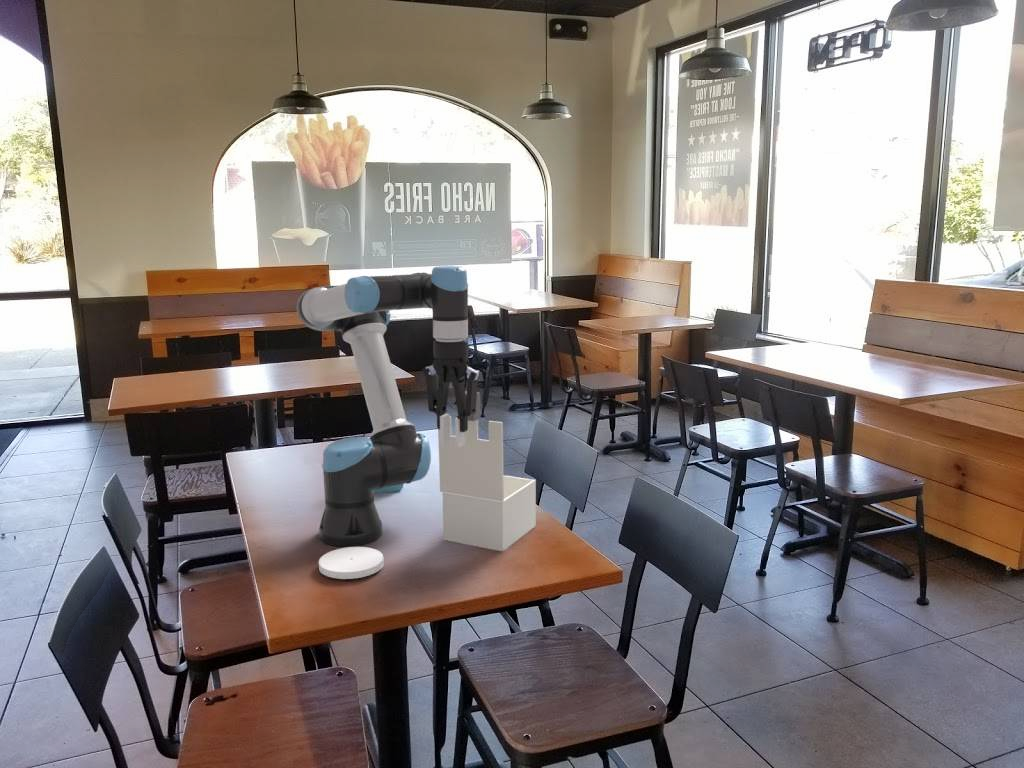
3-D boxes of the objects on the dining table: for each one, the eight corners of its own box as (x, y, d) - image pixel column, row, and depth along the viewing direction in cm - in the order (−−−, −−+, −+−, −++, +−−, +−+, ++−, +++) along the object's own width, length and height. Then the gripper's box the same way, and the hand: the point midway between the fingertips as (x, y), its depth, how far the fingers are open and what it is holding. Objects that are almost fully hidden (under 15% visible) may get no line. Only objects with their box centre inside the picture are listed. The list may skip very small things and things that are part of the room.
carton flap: (506, 499, 190) (500, 503, 187) (444, 489, 197) (437, 493, 194) (504, 394, 185) (498, 397, 182) (441, 388, 192) (434, 391, 189)
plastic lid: (394, 574, 180) (393, 563, 180) (332, 589, 173) (331, 577, 173) (369, 552, 192) (369, 542, 191) (310, 565, 185) (310, 554, 184)
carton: (502, 551, 191) (502, 502, 189) (443, 539, 198) (442, 492, 196) (535, 525, 207) (535, 480, 205) (479, 516, 214) (478, 471, 212)
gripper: (492, 339, 177) (493, 444, 182) (427, 334, 184) (430, 436, 189) (475, 343, 171) (476, 453, 175) (409, 339, 178) (412, 444, 182)
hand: (452, 444), depth 182 cm, fingers open, 3 cm apart
